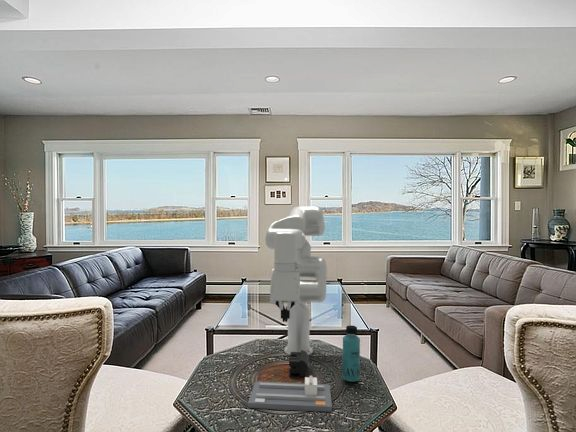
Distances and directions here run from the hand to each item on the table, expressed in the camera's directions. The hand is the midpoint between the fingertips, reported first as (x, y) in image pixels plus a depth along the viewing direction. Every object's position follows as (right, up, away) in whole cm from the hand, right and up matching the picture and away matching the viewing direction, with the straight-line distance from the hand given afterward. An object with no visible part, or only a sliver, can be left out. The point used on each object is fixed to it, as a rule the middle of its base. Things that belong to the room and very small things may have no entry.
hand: (285, 320), depth 118 cm
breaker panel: (+2, -24, -5) cm, 25 cm away
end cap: (+5, -24, +14) cm, 29 cm away
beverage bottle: (+24, -25, +7) cm, 35 cm away
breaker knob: (+8, -22, -5) cm, 24 cm away
